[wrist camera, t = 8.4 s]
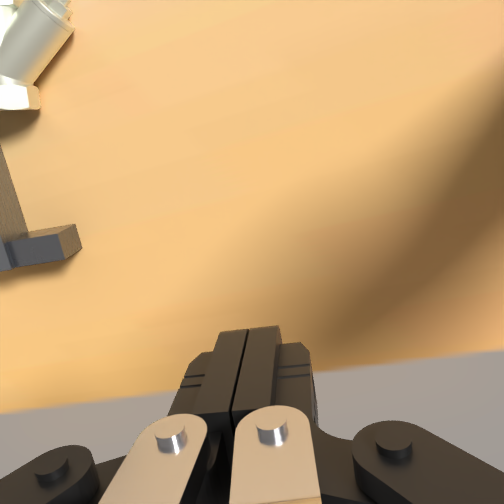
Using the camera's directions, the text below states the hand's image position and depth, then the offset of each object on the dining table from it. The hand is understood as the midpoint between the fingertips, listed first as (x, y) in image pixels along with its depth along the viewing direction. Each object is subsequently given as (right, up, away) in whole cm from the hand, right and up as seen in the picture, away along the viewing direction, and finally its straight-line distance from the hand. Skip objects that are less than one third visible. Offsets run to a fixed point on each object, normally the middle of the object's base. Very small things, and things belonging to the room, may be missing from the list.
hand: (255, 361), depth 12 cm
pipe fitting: (-15, +17, +22) cm, 32 cm away
